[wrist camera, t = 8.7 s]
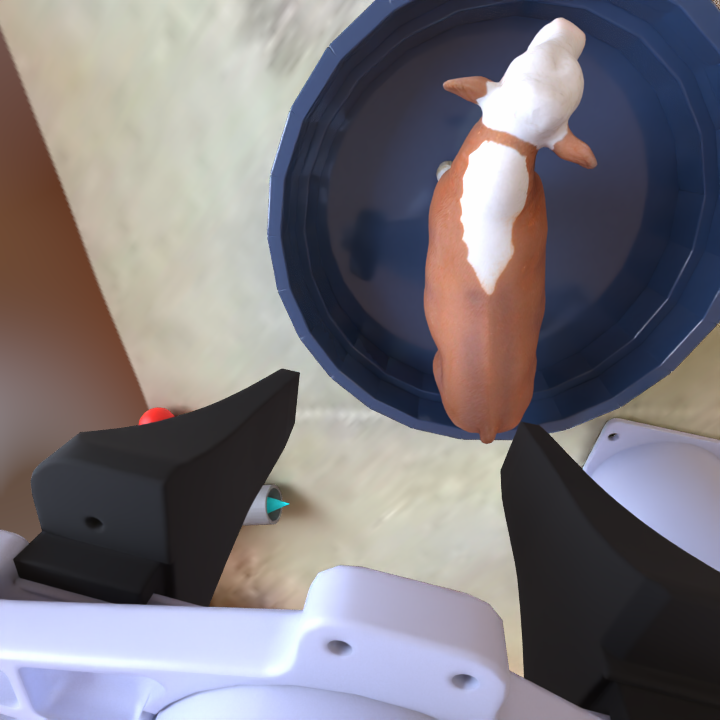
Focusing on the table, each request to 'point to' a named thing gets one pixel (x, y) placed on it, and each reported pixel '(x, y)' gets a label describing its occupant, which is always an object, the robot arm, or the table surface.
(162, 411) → the toy gun
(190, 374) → the table surface
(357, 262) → the bowl
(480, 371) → the bull figurine
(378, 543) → the table surface
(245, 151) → the table surface
